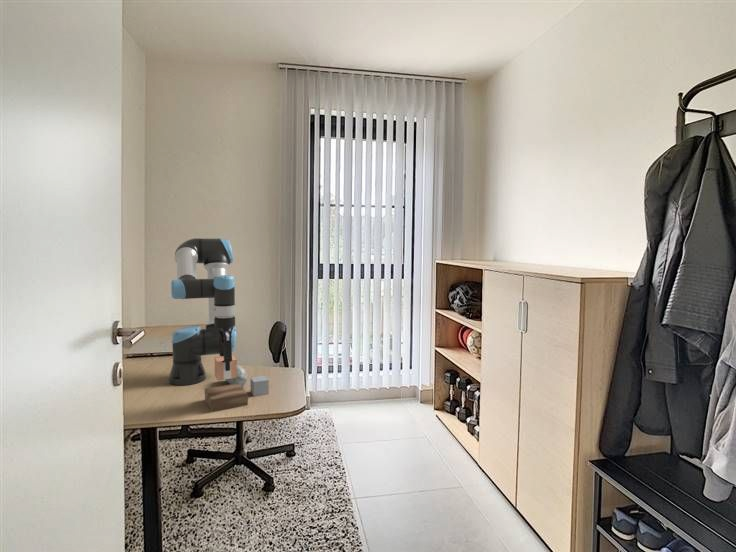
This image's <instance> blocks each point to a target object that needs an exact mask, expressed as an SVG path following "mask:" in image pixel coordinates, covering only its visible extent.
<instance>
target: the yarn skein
mask: <svg viewBox="0 0 736 552" xmlns="http://www.w3.org/2000/svg"><path fill="white" fill-rule="evenodd" d="M248 377H249V376H248V372H247V371H246V370H245V369H244V368H243V367H242V366H241V365H238V364H237V378H232V379H224V380H225V381H226V382H227V383H228V385H230V384H236V383H239V384H240V385H241V387H242V388H243V386H244V385H245V384H246V383H247V381H248Z"/></svg>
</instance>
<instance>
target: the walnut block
mask: <svg viewBox="0 0 736 552" xmlns="http://www.w3.org/2000/svg"><path fill="white" fill-rule="evenodd" d="M248 393H249V392H248V391H246V390H245V388H243V386H242V387H241V385H240V384H239V383H236V384H225V385H219V386H214V387H213V386H212V387H207V388H204V401H205V403H206V405H207V407H208V408H209V409H210V411H211V412H212V413H215V412H218V411H219V412H220V411H224V410H229V409H230V410H231V409H235V408H239V407H245V406H249V401H248V400H249V399H248V398H249V396H248Z"/></svg>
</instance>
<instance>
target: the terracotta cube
mask: <svg viewBox="0 0 736 552" xmlns="http://www.w3.org/2000/svg"><path fill="white" fill-rule="evenodd" d="M222 361H224V356H222V357H221V356H215V357H214V376H215V378H216V380H217V381H223V380H225V379H223V363H222ZM237 362H238V361H237V357H235V355H233V354H232V361H231V378H230V379H232V378H237V365H238V363H237Z"/></svg>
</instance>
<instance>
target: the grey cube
mask: <svg viewBox="0 0 736 552" xmlns="http://www.w3.org/2000/svg"><path fill="white" fill-rule="evenodd" d="M269 382H270V381H269V379H268V377H267V375H258V376H252V377H250V393H251V395H252V396H253V397H259V395H260V396H265V395H269V393H270V392H269V390H270V389H269V388H270V385H269Z"/></svg>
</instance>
